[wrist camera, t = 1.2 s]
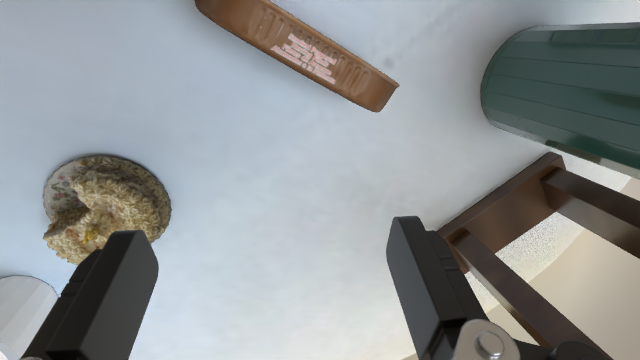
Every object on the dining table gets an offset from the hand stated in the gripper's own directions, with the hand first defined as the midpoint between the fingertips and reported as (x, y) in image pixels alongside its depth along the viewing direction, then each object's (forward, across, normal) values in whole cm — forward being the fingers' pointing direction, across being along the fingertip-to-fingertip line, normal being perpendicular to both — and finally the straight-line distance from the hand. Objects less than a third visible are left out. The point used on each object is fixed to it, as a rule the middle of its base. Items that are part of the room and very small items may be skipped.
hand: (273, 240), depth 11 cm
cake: (+16, +16, +12) cm, 25 cm away
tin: (+21, -2, -1) cm, 21 cm away
